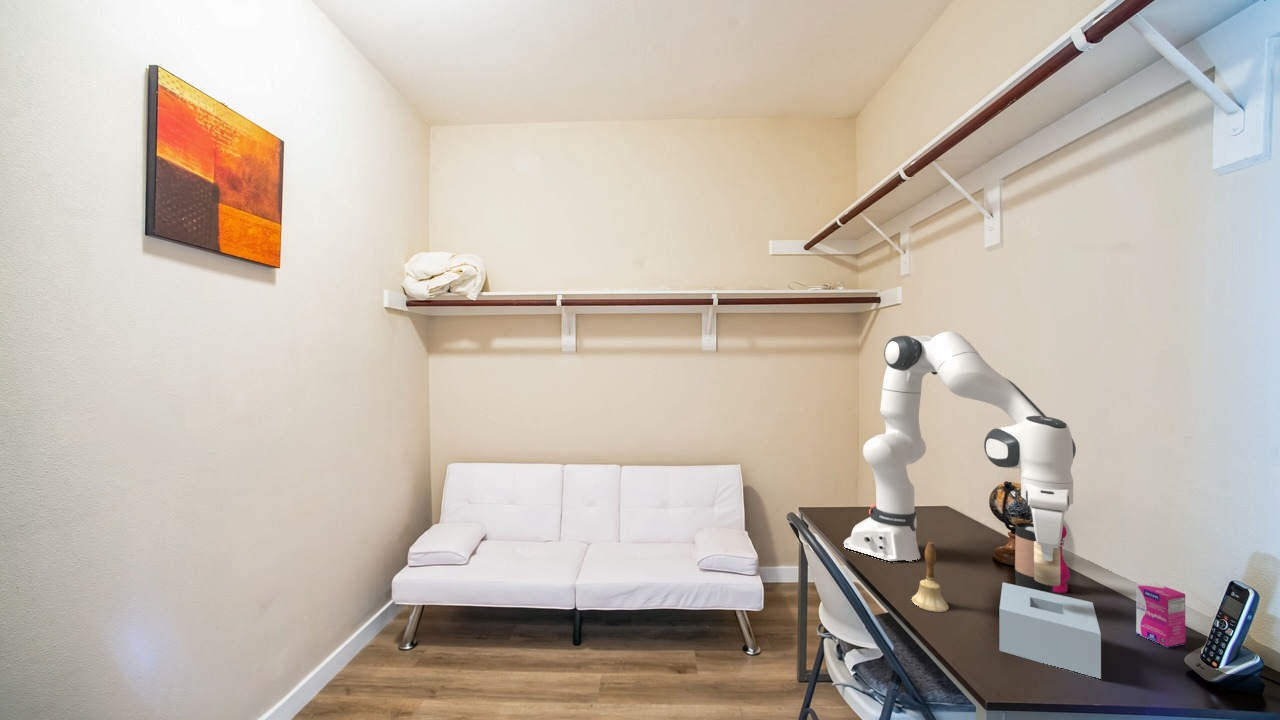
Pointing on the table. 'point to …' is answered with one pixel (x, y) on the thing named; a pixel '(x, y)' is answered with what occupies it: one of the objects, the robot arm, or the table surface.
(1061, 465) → the robot arm
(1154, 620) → the supplement box
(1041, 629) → the socket block
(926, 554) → the hand bell
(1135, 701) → the table surface
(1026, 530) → the travel mug
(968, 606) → the table surface
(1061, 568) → the pepper mill
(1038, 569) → the peg
